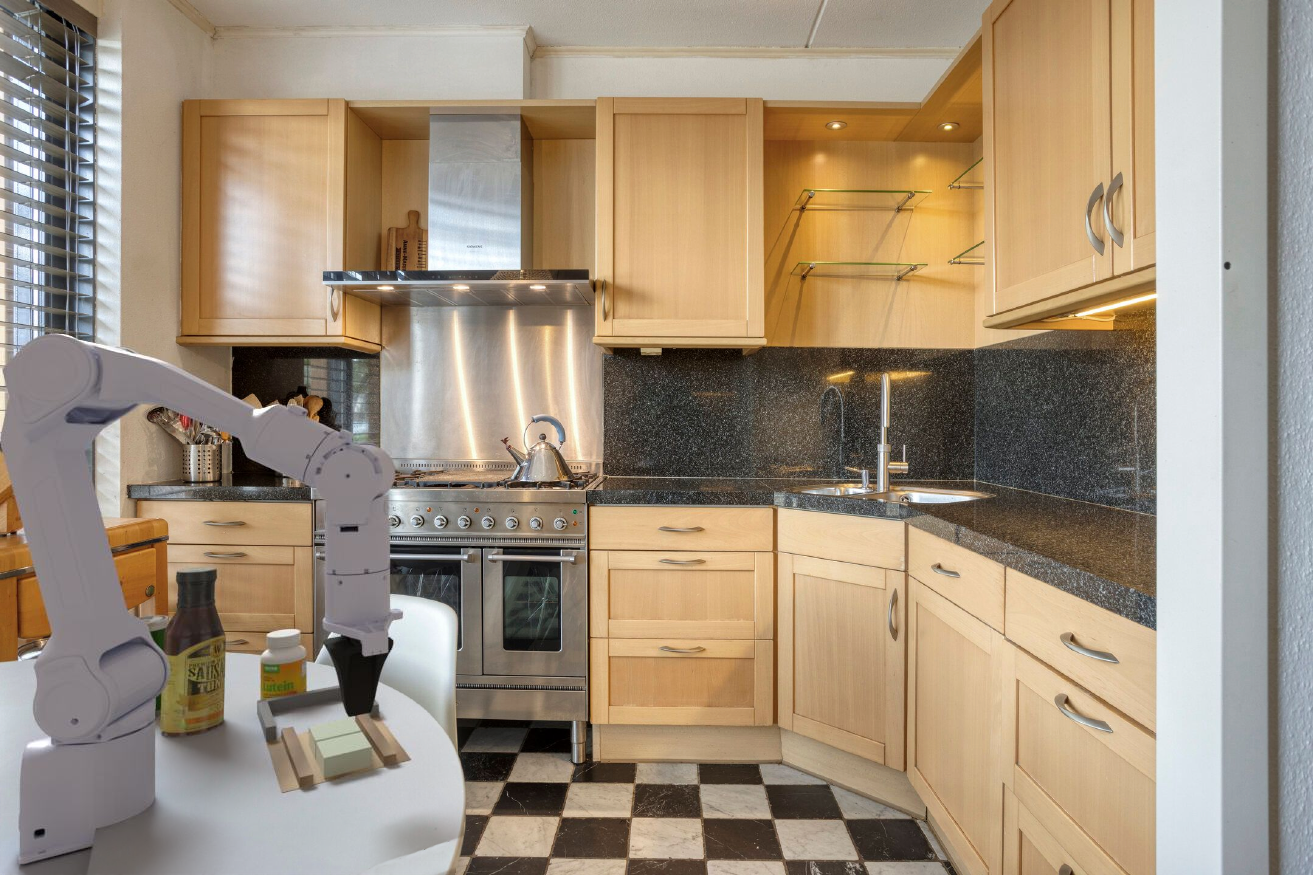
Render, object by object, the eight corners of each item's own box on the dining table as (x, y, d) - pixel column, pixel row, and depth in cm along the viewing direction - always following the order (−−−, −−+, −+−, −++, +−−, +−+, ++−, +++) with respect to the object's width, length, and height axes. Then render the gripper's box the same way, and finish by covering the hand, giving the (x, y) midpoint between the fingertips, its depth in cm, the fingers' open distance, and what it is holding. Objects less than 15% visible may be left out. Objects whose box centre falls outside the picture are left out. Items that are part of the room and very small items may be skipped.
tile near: (323, 778, 69) (323, 758, 69) (316, 761, 73) (316, 742, 73) (371, 766, 72) (371, 746, 72) (362, 750, 75) (362, 731, 75)
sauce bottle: (192, 752, 78) (192, 575, 79) (146, 747, 80) (146, 573, 80) (238, 728, 85) (238, 565, 85) (195, 725, 86) (194, 564, 86)
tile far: (315, 759, 73) (315, 740, 73) (308, 744, 77) (308, 726, 77) (361, 748, 76) (361, 730, 76) (352, 734, 79) (352, 716, 79)
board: (282, 808, 66) (282, 781, 66) (266, 754, 78) (265, 732, 78) (411, 773, 73) (411, 749, 73) (378, 728, 85) (378, 708, 85)
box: (266, 754, 78) (266, 727, 78) (257, 724, 86) (257, 700, 86) (378, 728, 85) (378, 704, 85) (360, 703, 93) (360, 681, 93)
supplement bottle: (255, 716, 89) (254, 640, 89) (266, 701, 94) (266, 629, 94) (301, 711, 90) (301, 636, 90) (310, 697, 95) (310, 626, 95)
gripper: (422, 576, 63) (423, 727, 63) (383, 555, 75) (383, 682, 75) (338, 586, 59) (338, 747, 59) (310, 562, 71) (310, 696, 71)
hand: (358, 712), depth 66 cm, fingers closed
